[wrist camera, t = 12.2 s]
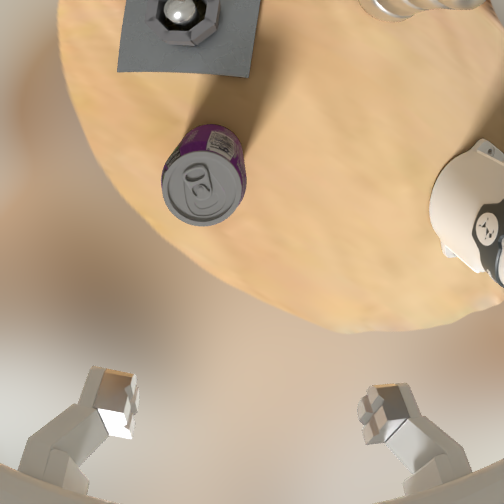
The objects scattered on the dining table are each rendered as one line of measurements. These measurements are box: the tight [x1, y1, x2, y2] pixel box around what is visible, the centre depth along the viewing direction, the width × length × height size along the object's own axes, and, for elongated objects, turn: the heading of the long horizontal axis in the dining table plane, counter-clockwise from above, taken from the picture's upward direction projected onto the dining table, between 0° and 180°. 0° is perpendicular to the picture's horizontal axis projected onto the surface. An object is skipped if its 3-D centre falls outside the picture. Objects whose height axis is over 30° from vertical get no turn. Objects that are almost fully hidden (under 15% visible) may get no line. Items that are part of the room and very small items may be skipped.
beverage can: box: [161, 124, 247, 226], centre depth 30 cm, size 7×7×12 cm
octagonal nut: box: [144, 0, 221, 46], centre depth 23 cm, size 6×6×4 cm
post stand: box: [117, 0, 260, 78], centre depth 24 cm, size 14×12×7 cm
